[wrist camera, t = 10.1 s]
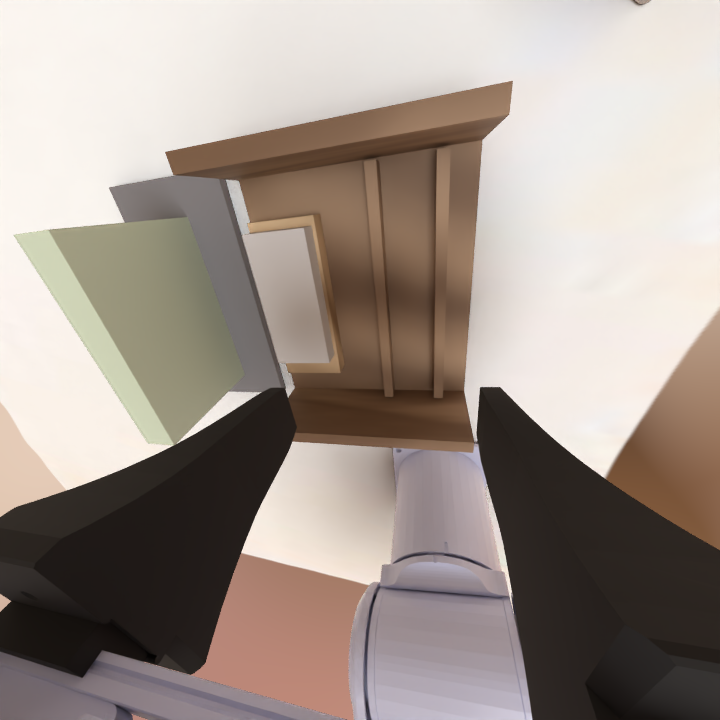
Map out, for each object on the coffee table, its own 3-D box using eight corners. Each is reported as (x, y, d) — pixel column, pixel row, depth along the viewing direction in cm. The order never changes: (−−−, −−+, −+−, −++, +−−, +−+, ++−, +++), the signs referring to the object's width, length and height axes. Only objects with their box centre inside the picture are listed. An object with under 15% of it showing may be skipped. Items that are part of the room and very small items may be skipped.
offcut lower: (344, 364, 21) (340, 373, 20) (294, 364, 22) (288, 372, 21) (320, 213, 16) (313, 215, 15) (257, 221, 17) (247, 223, 16)
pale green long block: (245, 374, 24) (174, 445, 17) (224, 374, 24) (147, 443, 18) (187, 216, 18) (48, 229, 12) (162, 220, 19) (13, 234, 12)
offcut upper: (334, 354, 19) (329, 363, 18) (286, 354, 20) (278, 363, 19) (311, 225, 16) (303, 227, 15) (252, 232, 16) (241, 235, 15)
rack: (461, 391, 21) (473, 452, 16) (301, 388, 24) (269, 439, 19) (480, 123, 14) (512, 80, 9) (244, 165, 17) (165, 152, 12)
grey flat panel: (285, 388, 25) (282, 392, 24) (206, 387, 27) (202, 390, 26) (222, 169, 17) (215, 168, 17) (117, 187, 19) (108, 187, 18)
